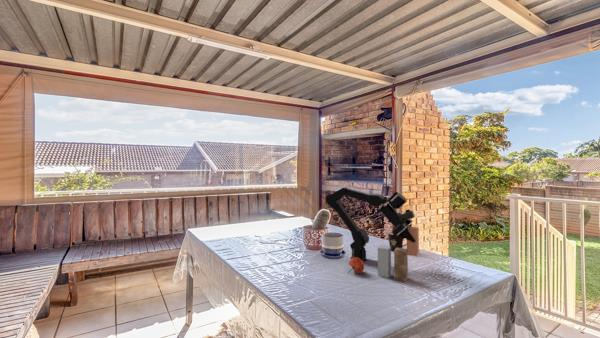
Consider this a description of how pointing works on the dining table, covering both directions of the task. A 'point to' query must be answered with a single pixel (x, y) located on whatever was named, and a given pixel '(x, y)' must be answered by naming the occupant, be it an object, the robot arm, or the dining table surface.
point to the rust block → (413, 246)
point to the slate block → (384, 261)
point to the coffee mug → (395, 241)
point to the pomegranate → (357, 264)
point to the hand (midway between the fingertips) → (415, 240)
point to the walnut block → (400, 264)
